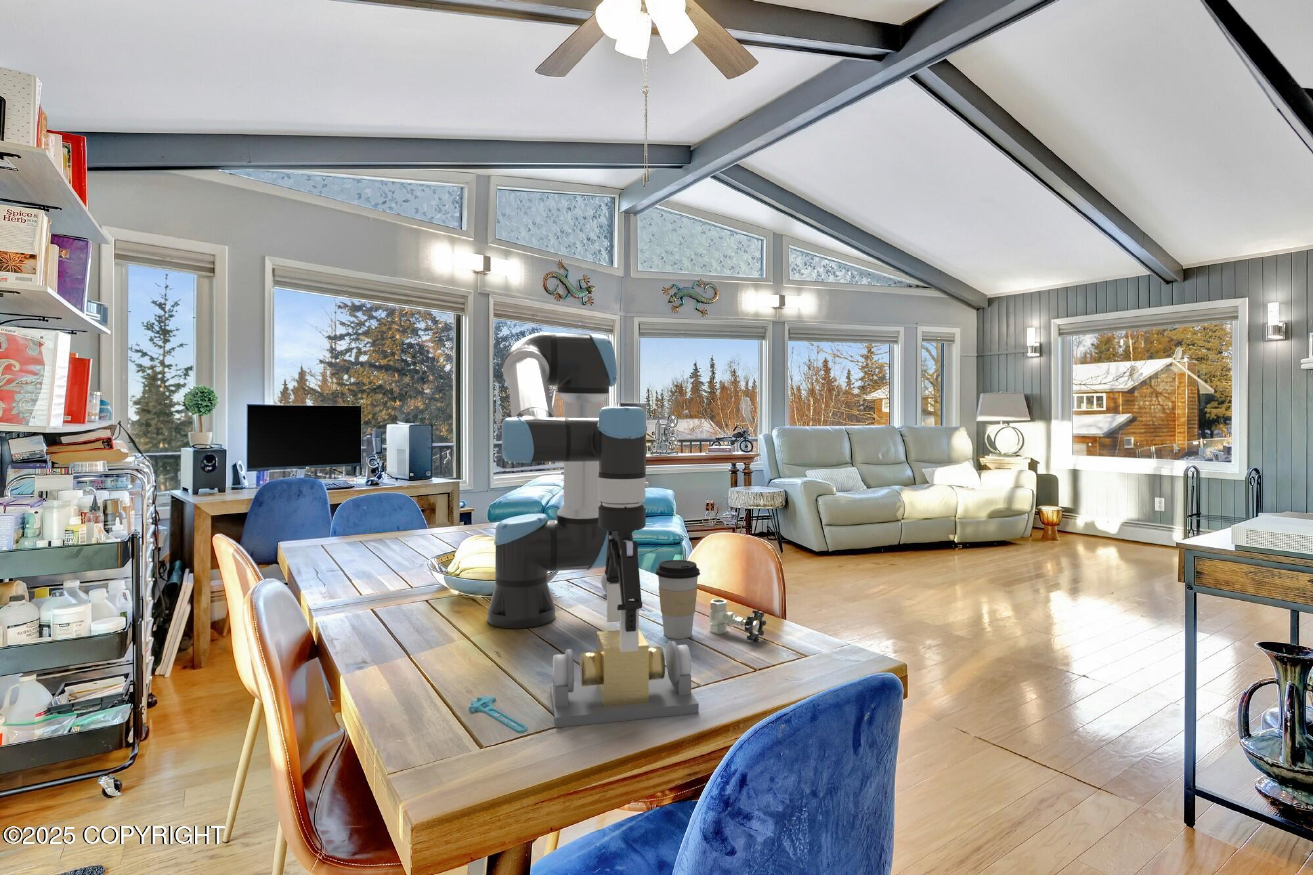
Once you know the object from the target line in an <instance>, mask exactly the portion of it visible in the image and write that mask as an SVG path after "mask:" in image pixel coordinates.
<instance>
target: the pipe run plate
mask: <svg viewBox="0 0 1313 875" xmlns="http://www.w3.org/2000/svg"><path fill="white" fill-rule="evenodd" d="M574 665H575V664H574V655H573V649H571V648H569V649H565V653H564V654H562V653H561V654H554V655H553V656H552V684H550V699H551V705H552V714H553V720H554V727H555V728H556V729H557V728H566V727H576V726H578V727H579V726H584V725H586V726H588V725H596V724H604V723H605V724H606V723H615V722H623V721H624V722H626V721H634V720H643V719H644V720H645V719H652V718H653V719H655V718H662V717H663V718H664V717H673V716H684V715H692V714H693V715H694V714H699V713H700V711H699V710H700V708H699V704H700V703H699V702H698V700H697V698H696V697H695V695H694V694H693V693H692V658H691V651H690V648H689V646H688V644H679V645H678V644H677V642H676V641H675V640H673V641H668V642H667V644H666V648H665V665H666V671H667V674H665V676H664V679H658V680H649V702H648V703H637V704H627V705H617V706H607V707H604V705H603V702H602V699H601V696H600V693H599V690H598V687H597V685H592V686H582V685H581V681H579V682H575V668H574Z"/></svg>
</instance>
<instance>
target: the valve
mask: <svg viewBox="0 0 1313 875" xmlns="http://www.w3.org/2000/svg"><path fill="white" fill-rule="evenodd" d="M727 608H728V601H727V600H725V599H723V598H713V599H711V600H710V610H709V614H708V619H709V622H710V627H709V631H710V633H712V634H716V635H719V634H720V635H721V634H726V633H727V630H728V627H729V628H733V627H735V626H737V627H742V628H743V627H744V631H745V632H746V633H748V634H749V635H746V640H748V641H751V642H755V643H758V642H759V641H760V638H759V636H761V637H763V636H764V635H765V631H764V630H763V627H765V626H766V625H767V621H766V620H765V619H763V618H764V617H765V612H764V611H761V610H760V611H759V610H758V609H755V608H754V609H753V610H752V614H754V615H747V617H746V619H745V618H744V617H740V616H737V614H736V613H735V612H732V611H728V610H727ZM758 621H759V622H758ZM754 631H756V632H754Z"/></svg>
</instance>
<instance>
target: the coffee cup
mask: <svg viewBox="0 0 1313 875" xmlns="http://www.w3.org/2000/svg"><path fill="white" fill-rule="evenodd" d="M697 566H698V565H697V563H696V562H695V561H691V560H687V559H686V560H685V559H669V560H663V561H661V562H659V563H658V567H657V568H655V569H656V570H655V573H654V574H655V575H656V576H657V577H658V596H659V604H660V613H661V618H662V630H663V635H664V636H665V637H666V638H669V639H672V640H682V639H683V640H684V639H688V638H691V637H692V635H693V628H694V618H695V613H696V605H697V604H696V603H697V596H698V578H699V577H700V575H701V572H700V571H701V570H700V568H699V567H697Z"/></svg>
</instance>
